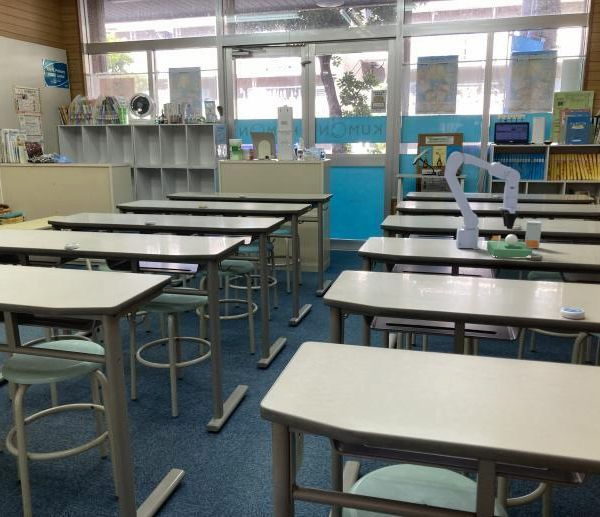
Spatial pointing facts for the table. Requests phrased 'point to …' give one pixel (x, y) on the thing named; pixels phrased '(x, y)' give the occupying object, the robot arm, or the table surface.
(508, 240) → the ball
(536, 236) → the skincare box
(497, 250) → the green
